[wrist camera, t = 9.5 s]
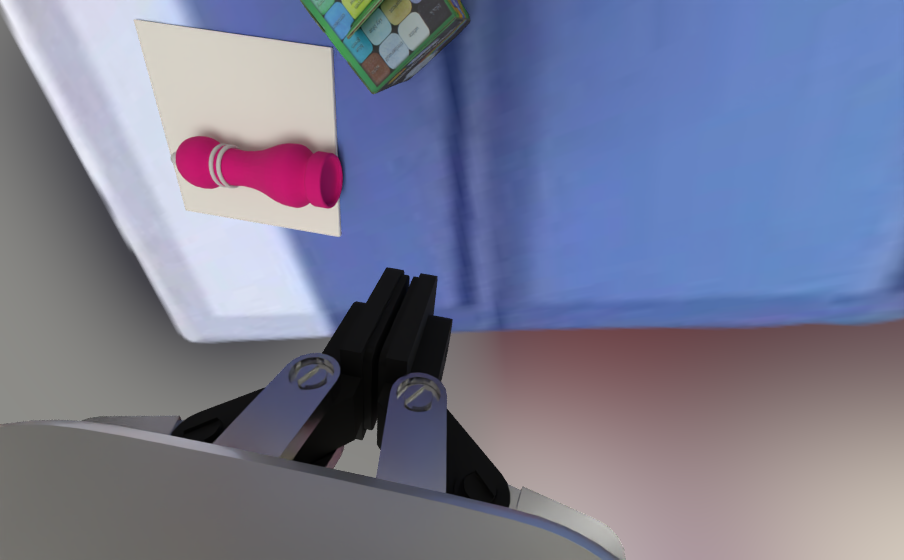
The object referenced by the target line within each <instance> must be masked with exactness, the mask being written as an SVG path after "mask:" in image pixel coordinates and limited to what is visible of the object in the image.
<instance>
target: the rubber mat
mask: <svg viewBox="0 0 904 560" xmlns="http://www.w3.org/2000/svg"><path fill="white" fill-rule="evenodd" d="M134 23H135V26H136V30H137V34H138V37H139V41H140V45H141V48H142V52H143V55H144V59H145V63H146V66H147V70H148V74H149V77H150V81H151V85H152V88H153V92H154V96H155V99H156V103H157V107H158V110H159V114H160V118H161V121H162V125H163V129H164V132H165V136H166V140H167V143H168V147H169V150H170V154H171V155H172V154H173V153H174V152H176V151H177V149H178V147H179V145H180V144H181V143H182V142H183V141H184V140H186V139H188V138H190V137H195V136H206V137H210V138H213V139H215V140H217V141H218V142H219V143H221V144H228V145H230V144H231V145H235V146H237V147H238V148H240V150H244V151H260V150H265V149H268V148H271V147H274V146H276V145H280V144H286V143H294V144H301V145H304V146H306V147H307V148H309V149H310V150H311V151H312V152H313V154H314V153H315V152H317V151H321V152H328V153H333V154H335V155H336V156H337V157H338V152H337V129H336V106H335V83H334V60H333V48H330V47H323V46H316V45H310V44H303V43H296V42H289V41H282V40H275V39H268V38H261V37H254V36H247V35H240V34H233V33H226V32H219V31H212V30H205V29H198V28H191V27H184V26H177V25H170V24H163V23H156V22H149V21H142V20H134ZM173 165H174V169H175V172H176V176H177V180H178V183H179V187H180V191H181V194H182V198H183V202H184V205H185V209H186V210H187V211H192V212H198V213H204V214H210V215H216V216H221V217H227V218H233V219H239V220H245V221H250V222H256V223H262V224H268V225H274V226H279V227H285V228H291V229H297V230H303V231H308V232H314V233H320V234H326V235H332V236H337V237H340V236H341V221H340V198H339V199H338V202H337V203H336V205H335V206H334V207H332V208H329V209H327V208H321V207H315V206H313V205H312V204H311V203H309V204H308V205H306V206H304V207H301V208H294V207H289V206H285V205H283V204H281V203H278V202H276V201H274V200H273V199H271V198H270V197H268V196H267V195H265V194H264V193H262V192H260V191H258V190H255V189H253V188H249V187H245V186H239V187H237V188H228V187H221V186H219V187H217V188H214V189H204V188H200V187H197V186H194V185H192V184H190V183H189V182H188V181H186V180H185V179H184V178H183V177H182V176H181V174H180V173H179V171H178V169H177V166H176V165H175V164H173Z"/></svg>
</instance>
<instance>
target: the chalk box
mask: <svg viewBox="0 0 904 560" xmlns="http://www.w3.org/2000/svg"><path fill="white" fill-rule="evenodd" d="M300 1H301V2H302V4H303V5H304V7H305V8H306V10H307V11H308V12H309V14H310V15H311V17H312V18H313V19H314V21H315V22H316V23H317V24H318V26H319V27H320V28H321V30H322V31H323V32H324V33H326V35H327V36H328V37H329V39H330V40H331V42H332V43H333V44H334V45H335V47H336V48H337V49H338V51H339V52H340V53H341V55H342V56H343V57H344V58H345V59H346V60H347V62H348V64H349V65H350V67H351V68H352V69H353V71H354V72H355V73H356V74H357V76H358V77H359V78H360V79H361V81H362V82H363V83H364V85H365V86H366V87H367V88H368V90H369V91H370V92H371V93H372V94H376V93H378V92H380V91H383V90H385V89H387V88H389V87H391V86H394V85H396V84H399V83H401V82H404V81H407V80H409V79H410V78H412V77H413V76H414V75H415V74H416V73H417V72H418V71H419V70H420V69H421V68H423V67H424V66H425V65H426V64H427V63H428V62H429V61H430V60H431V59H432V58H433V57H434V56H436V55H437V54H438V53H439V52H440V51H441V49H442V48H443V47H445V46H446V45H447V44H448V43H449V42H451V41H452V40H453V39H454V38H455V37H456V36H457V35H458V34H459V33H460V32H461V31H462V30H463V29H464V28H465V27H466V26H467V25H468V24H469V22H470V17H469V14H468V13H467V11H466V10H465V8H464V6H463V4H462V3H461V1H460V0H300Z"/></svg>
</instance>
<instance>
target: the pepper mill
mask: <svg viewBox="0 0 904 560" xmlns="http://www.w3.org/2000/svg"><path fill="white" fill-rule="evenodd" d="M171 161H172V162H173V164H175V165H176V166H177V169H178V171H179V173H180V174H181V176H182V177H183V178H184V179H185V180H186V181H188V182H189V183H190V184H192V185H194V186H197V187H200V188H204V189H214V188H217V187H219V186H221V187H228V188H237V187H239V186H245V187H249V188H253V189H255V190H258V191H260V192H262V193H264V194H265V195H267V196H268V197H270V198H271V199H273V200H274V201H276V202H278V203H281V204H283V205H285V206H289V207H294V208H301V207H304V206H306V205H308V204H309V203H311V204H312V205H313V206H315V207H321V208H327V209H329V208H332V207H334V206H335V205H336V203H337V202H338V199H339V197H340V194H341V190H342V183H343V174H342V167H341V163H340V160H339V158H338V157H337V156H336V155H335V154H333V153H328V152H321V151H317V152H315V153H314V154H313V152H312V151H311V150H310V149H309V148H307V147H306V146H304V145H301V144H294V143H286V144H280V145H276V146H274V147H271V148H268V149H265V150H260V151H244V150H240V148H238V147H237V146H235V145H231V144H230V145H228V144H221V143H219V142H218V141H217V140H215V139H213V138H210V137H206V136H195V137H190V138H188V139H186V140H184V141H183V142H182V143H181V144H180V145H179V147H178V149H177V151H176V152H174V153H173V154H172V155H171Z"/></svg>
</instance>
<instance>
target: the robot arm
mask: <svg viewBox="0 0 904 560" xmlns="http://www.w3.org/2000/svg"><path fill="white" fill-rule="evenodd" d="M436 288H437V276H433V275H428V274H422V273H421V274H420V276H419V277H413V279H412V281H411V284H410V286H409V276H408V275H404V270H399V269H394V268H388V267H387V268H386V269H385V271H384V273H383V274H382V276H381V278H380V280H379V281H378V283H377V285H376V287H375V288H374V290H373V292H372V294H371V295H370V297H369V299H368V301H367V302H366V303H362V302H357V301H356V302H354V303H353V305H352V306H351V308H350V309H349V311H348V312H347V314H346V316H345V317H344V319H343V320H342V322H341V324H340V325H339V327H338V328H337V330H336V332H335V333H334V335H333V336H332V338H331V340H330V341H329V343H328V344H327V346H326V348H325V349H324V351H323V352H322V354H321V353H312V354H306V355H302V356H300V357H298V358H296V359H294V360H292V361H291V362H290V363H289V364H287V366H286V367H285V368H284V369H283V370H282V371H281V372H280V373H279V374H278V375H277V376H276V377H275V378H274V379H273V380H272V381H271V382H270V383H269V385H267V387H265V388H262V389H260V390H257V391H254V392H252V393H249V394H246V395H244V396H241V397H238V398H236V399H233V400H231V401H228V402H225V403H223V404H220V405H217V406H215V407H212V408H209V409H207V410H204V411H201V412H199V413H197V414H194V415H192V416H190V417H189V418H187V419H186V420H181V417H180V416H100V417H93V418H88V419H85V420H82V421H73V420H31V421H23V422H15V423H6V424H0V560H626V558H625V553H624V548H623V546H622V544H621V542H620V541H619V539H618V537H617V536H616V534H615V533H614V532H613V531H612V530H611V529H610V528H609V527H608V526H606V525H605V524H603V523H602V522H600V521H599V520H597V519H594V518H592V517H590V516H588V515H586V514H583V513H581V512H579V511H577V510H574V509H572V508H570V507H568V506H565V505H563V504H561V503H559V502H556V501H554V500H552V499H550V498H548V497H545V496H543V495H541V494H539V493H536V492H534V491H532V490H530V489H527V488H525V487H522V489H521V490H519V489H517V488H515V487H513V486H511V485H508V483H507V482H506V480H505V479H504V477H503V476H502V474H501V473H500V472H499V470H498V469H497V468H496V467H495V466H494V464H493V463H492V462H491V461H490V460H489V458H488V457H487V456H486V455H485V454H484V452H483V451H482V450H481V449H480V448H479V446H478V445H477V444H476V443H475V442H474V440H473V439H472V438H471V437H470V436H469V435H468V433H467V432H466V431H465V430H464V428H463V427H462V426H461V425H460V424H459V422H458V421H457V420H456V419H455V418H454V417H453V415H452V414H451V413H450V412H449V410H448V409H447V394H446V389H445V387H444V386H443V384H442V383H441V380H442V376H443V370H444V366H445V362H446V357H447V352H448V347H449V340H450V334H451V328H452V319H450V318H444V317H439V316H433V314H434V305H435V297H436ZM376 421H377V423H378V424H377V445H378V447H379V448H380V450H381V451H380V458H379V464H378V470H377V476H376V478H373V477H368V476H364V475H359V474H354V473H349V472H345V471H340V470H335V469H334V467H335V465H336V464H337V462H338V460H339V459H340V457H341V455H342V453H343V450H344V445H346V444H347V443H349V442H351V441H353V440H355V439H359V440H363V438H364V435H365V433H366V430H367V429H368V430H373V428H374V426H375V423H376Z"/></svg>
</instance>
